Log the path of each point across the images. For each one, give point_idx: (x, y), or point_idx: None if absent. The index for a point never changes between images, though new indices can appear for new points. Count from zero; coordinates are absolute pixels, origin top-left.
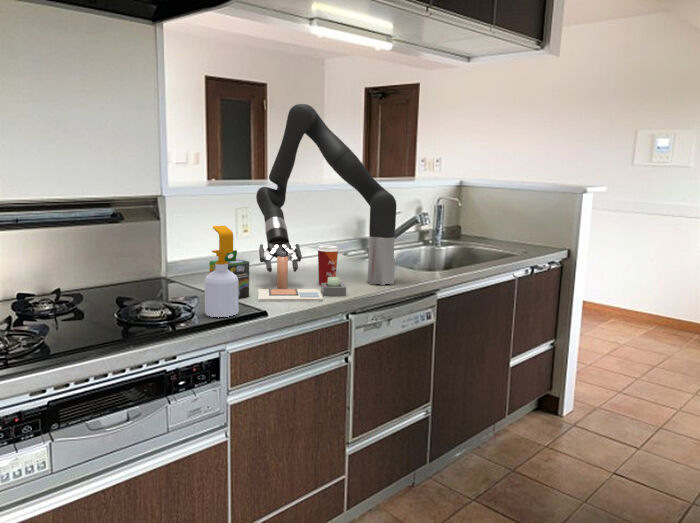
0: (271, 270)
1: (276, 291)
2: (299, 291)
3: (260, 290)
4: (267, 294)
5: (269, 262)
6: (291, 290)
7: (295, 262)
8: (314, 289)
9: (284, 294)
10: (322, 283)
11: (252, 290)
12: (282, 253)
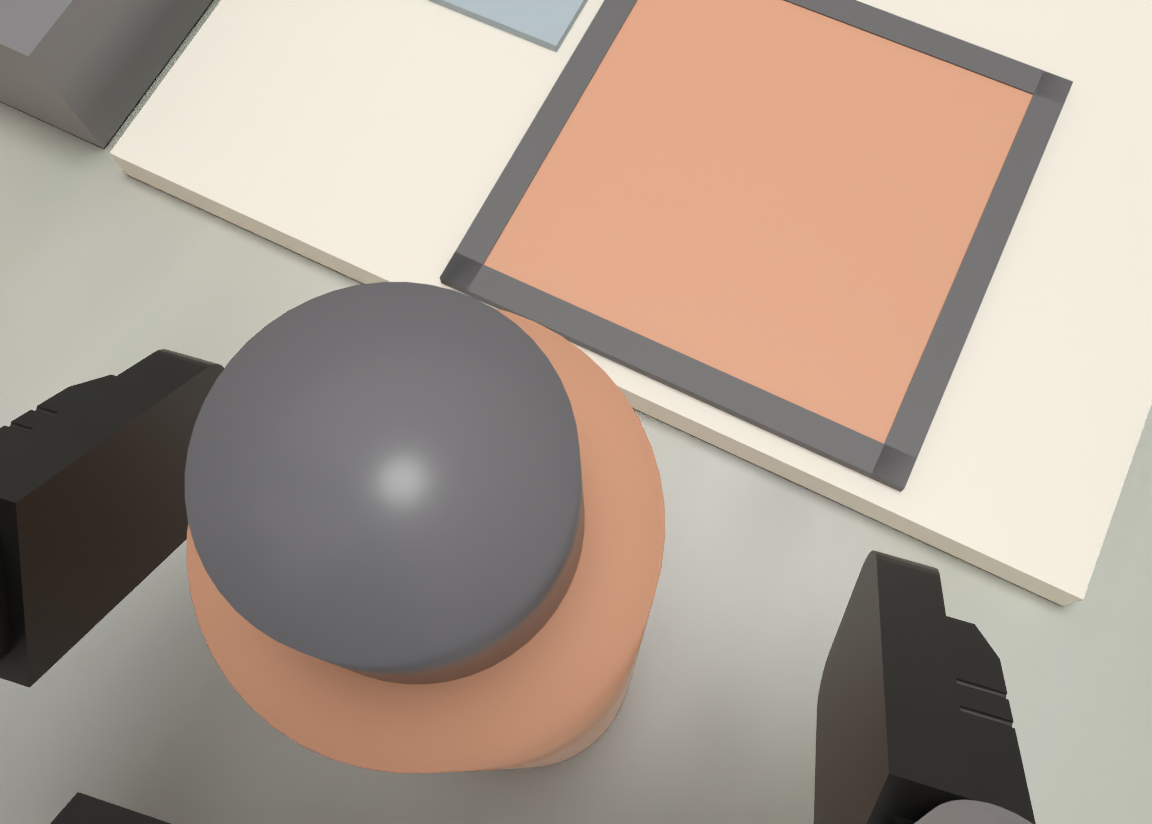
0: (854, 595)
1: (862, 243)
2: (487, 138)
3: (1083, 475)
4: (1068, 163)
5: (937, 713)
6: (591, 204)
7: (46, 427)
8: (185, 159)
9: (835, 14)
10: (47, 10)
11: (1141, 754)
12: (496, 328)
